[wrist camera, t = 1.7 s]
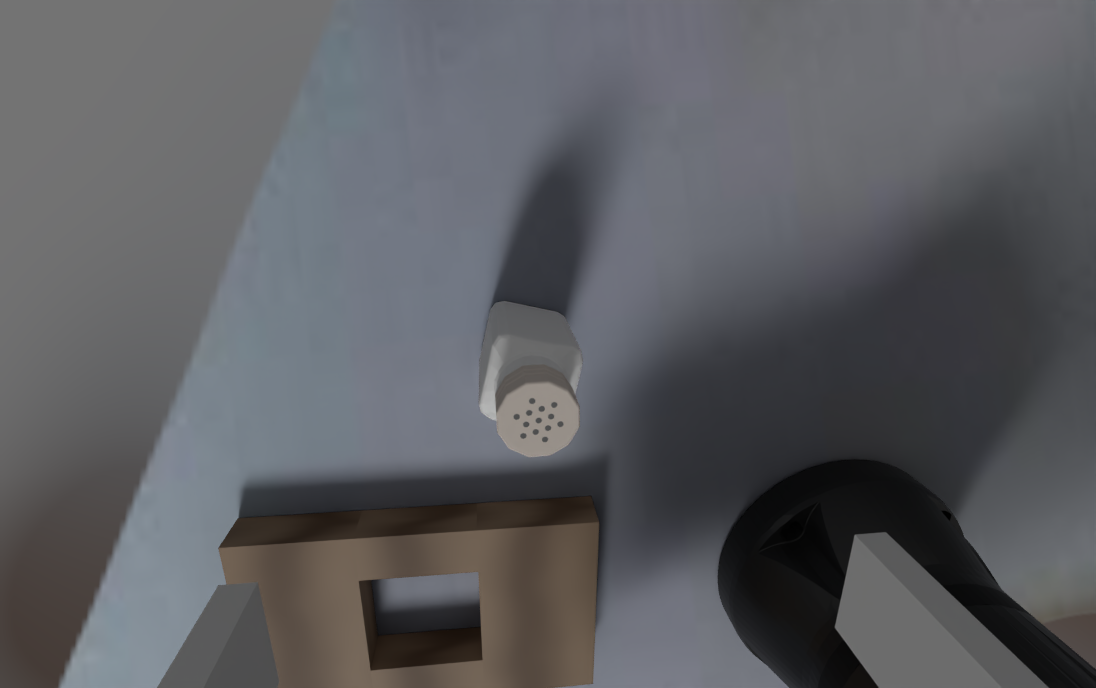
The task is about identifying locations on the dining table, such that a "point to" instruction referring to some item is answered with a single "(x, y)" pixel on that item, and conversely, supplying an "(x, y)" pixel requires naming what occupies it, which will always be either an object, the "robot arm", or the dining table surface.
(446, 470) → the dining table surface
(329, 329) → the dining table surface
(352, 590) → the spice block
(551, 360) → the pepper shaker
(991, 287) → the dining table surface
